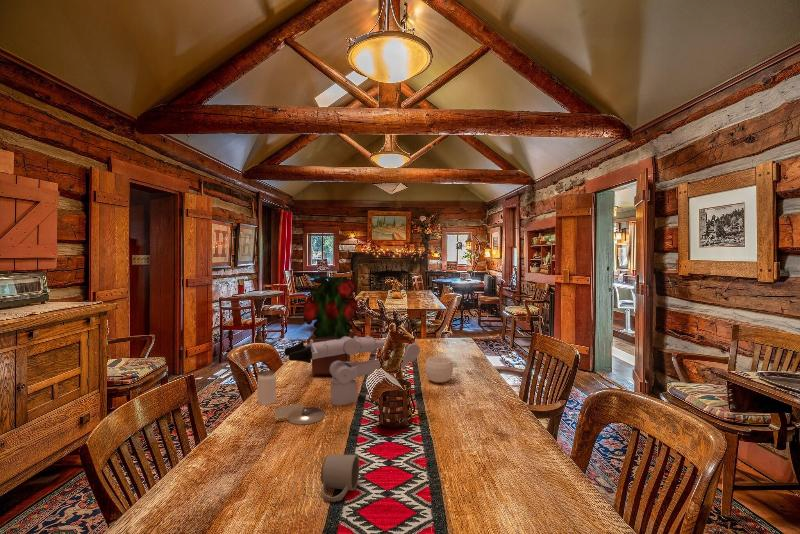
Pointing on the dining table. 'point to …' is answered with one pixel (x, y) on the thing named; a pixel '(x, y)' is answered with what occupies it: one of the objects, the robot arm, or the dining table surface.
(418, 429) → the dining table surface
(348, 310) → the potted plant
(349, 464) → the ceramic mug
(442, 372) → the cup
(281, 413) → the dial
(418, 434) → the dining table surface
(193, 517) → the dining table surface
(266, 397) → the can
